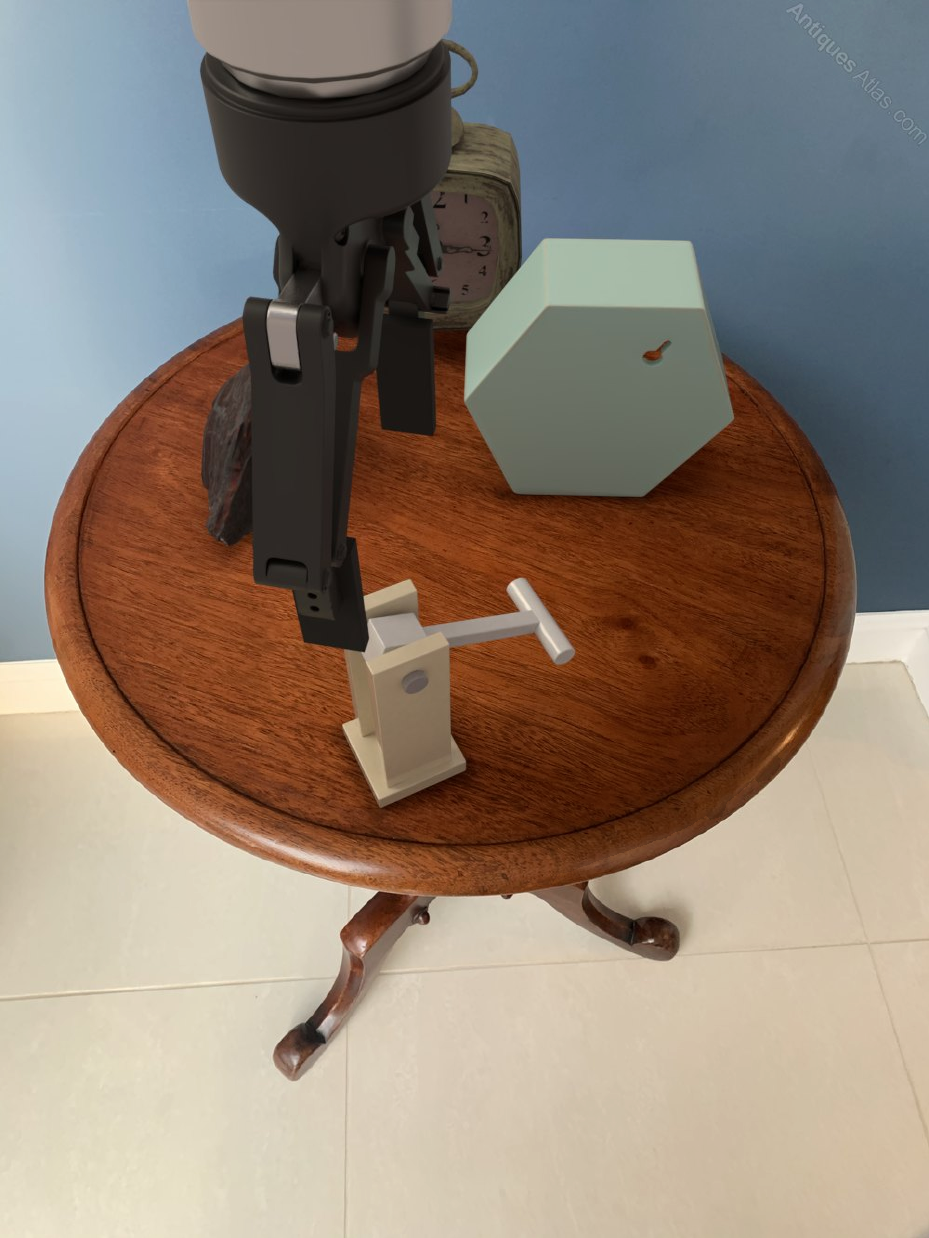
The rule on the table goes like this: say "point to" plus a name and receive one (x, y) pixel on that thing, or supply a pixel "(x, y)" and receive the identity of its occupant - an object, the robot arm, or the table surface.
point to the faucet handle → (476, 628)
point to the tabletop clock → (476, 215)
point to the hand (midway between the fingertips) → (375, 525)
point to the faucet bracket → (402, 707)
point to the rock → (229, 460)
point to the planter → (597, 368)
